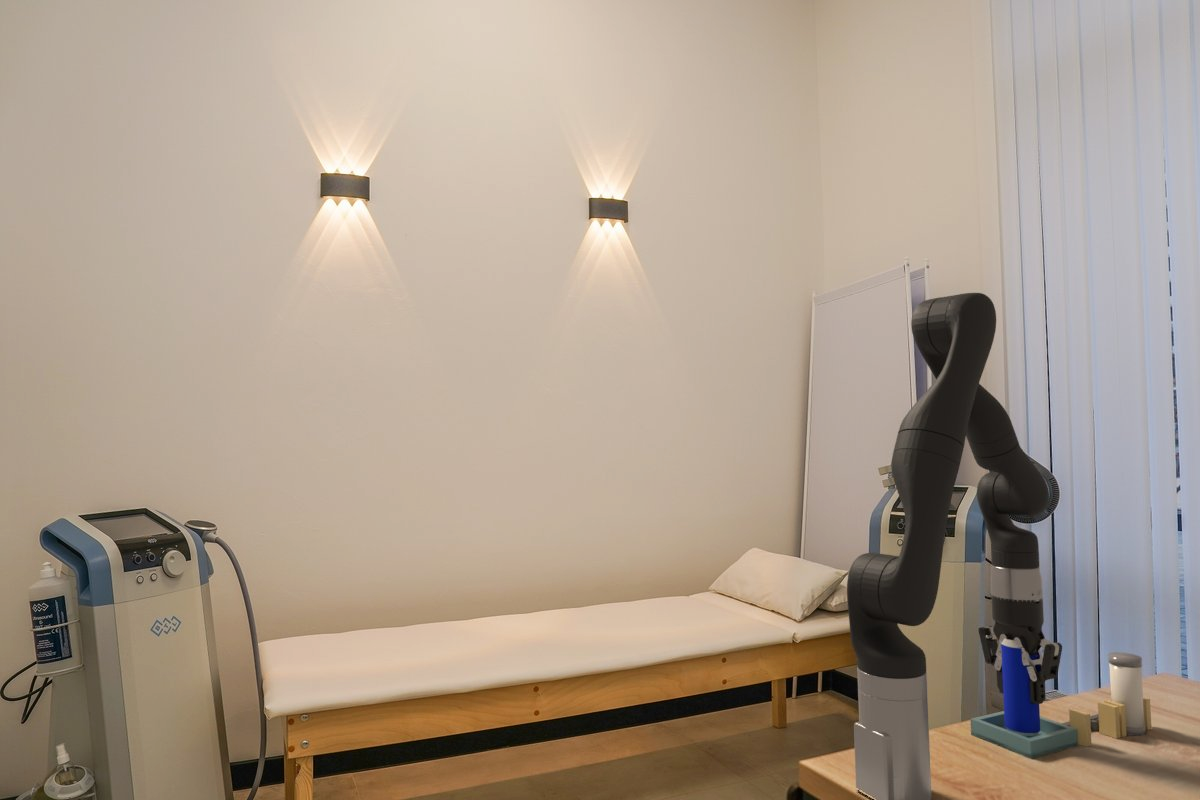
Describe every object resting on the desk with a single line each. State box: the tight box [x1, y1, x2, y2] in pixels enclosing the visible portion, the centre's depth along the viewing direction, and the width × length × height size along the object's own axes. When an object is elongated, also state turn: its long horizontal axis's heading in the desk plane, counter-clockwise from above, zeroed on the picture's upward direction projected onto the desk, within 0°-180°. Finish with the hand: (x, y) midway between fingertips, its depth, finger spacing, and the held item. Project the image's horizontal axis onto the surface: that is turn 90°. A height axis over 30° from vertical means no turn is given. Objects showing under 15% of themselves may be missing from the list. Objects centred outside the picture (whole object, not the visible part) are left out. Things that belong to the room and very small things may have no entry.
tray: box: [970, 710, 1079, 759], centre depth 128 cm, size 11×11×3 cm
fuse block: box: [1061, 696, 1152, 747], centre depth 130 cm, size 17×6×5 cm, turn 114°
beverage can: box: [1001, 639, 1041, 736], centre depth 128 cm, size 5×5×15 cm
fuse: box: [1107, 652, 1146, 736], centre depth 131 cm, size 5×5×12 cm
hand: (1021, 697), depth 128 cm, fingers closed on beverage can, 5 cm apart
